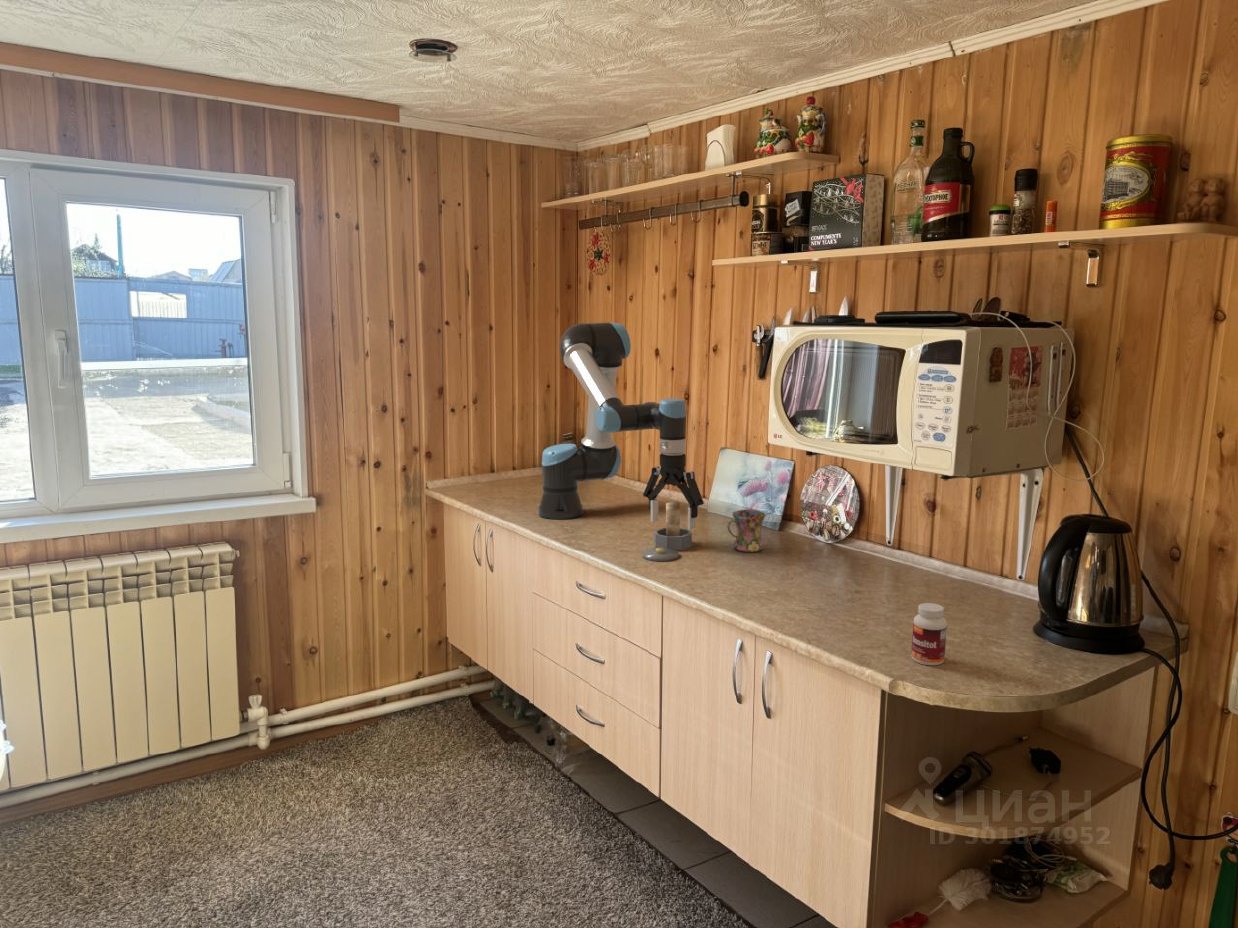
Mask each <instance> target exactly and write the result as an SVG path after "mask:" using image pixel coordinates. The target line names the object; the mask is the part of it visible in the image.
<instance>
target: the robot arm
mask: <svg viewBox="0 0 1238 928" xmlns="http://www.w3.org/2000/svg"><path fill="white" fill-rule="evenodd" d="M631 346H632V345H631V339H630V335H629V332H628V330H627V329H626V327H625V326H624V325H623V324H621V323H618V322H617V323H615V322H610V321H609V322H595V323H594V322H592V323H590V322H589V323H586V322H584V323H583V322H581V323H576V324H574V325H572V326H570V327H569V328H567V329H566V330H565V331H564V333H563V334H562V336H561V339H560V342H559V347H558V348H559V349H558V350H559V355H560V357H561V360H562V362H563V363H564V365H565V366H566V367H567V368H568V369H571V370H572V372H573V374H574V375H575V377H576V379H577V380H578V382H579V383H580V385H581V387H582V389H583V390H584V392H585V393H586V395H587V396H588V404H587V405H588V406H587V417H586V419H587V420H586V434H585V436H584V437H583V438H582V439H581V442H580V446H579V447H577V444H574V443H559V444H555V445H552V446H548V447H546V448H545V449H544V450H543V451H542V455H541V456H542V457H541V458H542V459H541V465H542V466H541V468H542V469H541V470H542V495H541V498H540V503H539V504H540V505H539V506H538V516H539V517H541V518H544V519H550V520H566V519H573V518H578V517H581V516H583V514H584V506H583V504H582V502H581V498H580V494H579V490H578V483H580V482H589V481H600V480H601V481H603V480H606V479H607V480H608V479H611V478H613V477H615V476H616V475H617V474H618V472H619V470H620V467H621V463H622V462H621V460H622V458H621V457H622V456H621V455H620V454H621V451H620V449H619V446H618V445H616V441H615V440H614V439H613V438H612V434H613V433H619V432H620V433H622V432H630V431H631V432H632V431H642V430H644V431H645V430H658V431H659V452H660V454H659V466H655V467H652V468H651V473H650V476H649V479H648V482H647V484H646V486H645V489H644V491H643V494H642V496H643V498H644V497H645V498H647V499H648V509H649V511H650V523H655V522H658V521H659V499H658V495H659V494H660V493H661V492H662V490H663V489H664V488H665V487H666V486H668V485H669V486H670V485H671V486H673V487H677V489H679V490H680V492H681V493H682V495H683V496H684V499H685V500H686V501H687V503H688V505H689V506H687V529H688V530H690V531H691V530H693V529H696V518H698V516H699V515H698V513H699V510H698V507H699V506H702V505H704V504H705V501H704V499H703V497H702V494H701V492H700V491H701V490H700V489H699V487H698V483H697V481H696V477H695V476H696V475H695V472H694V471H693V470H692V471H689V472H687V471H686V470H685V469H686V465H687V454H686V453H685V452H687V438H686V436H687V409H686V407H687V406H686V401H685V400H684V399H682V398H681V399H680V398H664V399H661V400H660V402H656V401H655V402H654V401H646V402H643V403H640V404H624V403H623V402H622V400H621V399H620V397H619V395H618V394H617V393H616V385H617V372H618V370H619V369H620V368H621V367H622V366H623V360H625V359H627V358H629V356H630V354H631ZM660 476H661V478H660V479H659V477H660ZM658 479H659V480H658ZM657 482H658V483H657Z"/></svg>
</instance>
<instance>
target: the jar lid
mask: <svg viewBox="0 0 1238 928" xmlns="http://www.w3.org/2000/svg"><path fill="white" fill-rule="evenodd" d="M641 554H642V558H643V559H644V560H646V561H650V562H670V561H673V560H677V559H678V558H679V552H678V550H673V549H668V548H655V547H653V548H652V547H651V548H649V549H645V550H643V551H642V553H641Z"/></svg>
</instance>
